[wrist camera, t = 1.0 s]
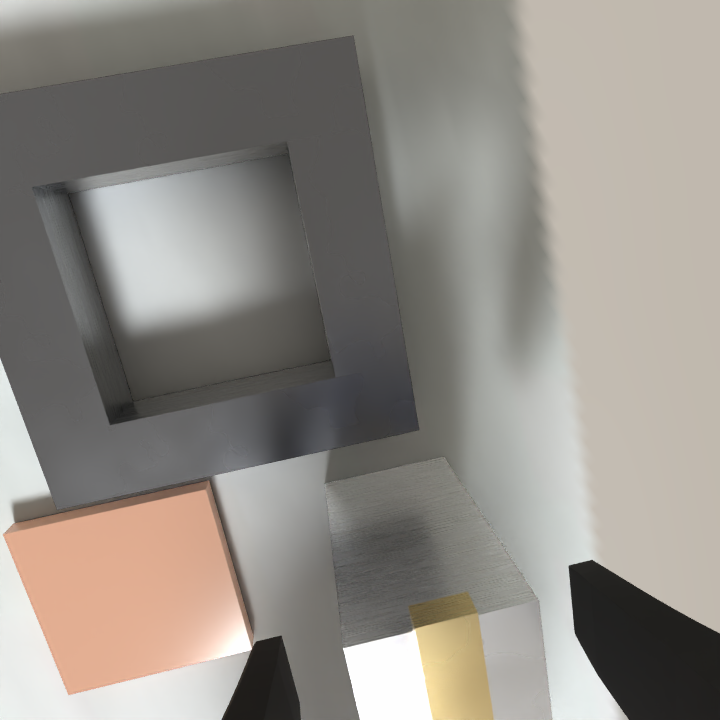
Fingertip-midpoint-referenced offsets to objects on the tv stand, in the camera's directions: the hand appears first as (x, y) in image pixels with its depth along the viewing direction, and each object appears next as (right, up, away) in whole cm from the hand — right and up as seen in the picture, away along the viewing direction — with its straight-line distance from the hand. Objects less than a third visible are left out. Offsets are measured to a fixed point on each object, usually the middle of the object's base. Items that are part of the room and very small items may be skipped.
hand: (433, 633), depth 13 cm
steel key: (-1, +1, +5) cm, 5 cm away
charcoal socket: (-6, +9, +2) cm, 11 cm away
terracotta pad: (-9, -1, +4) cm, 10 cm away
